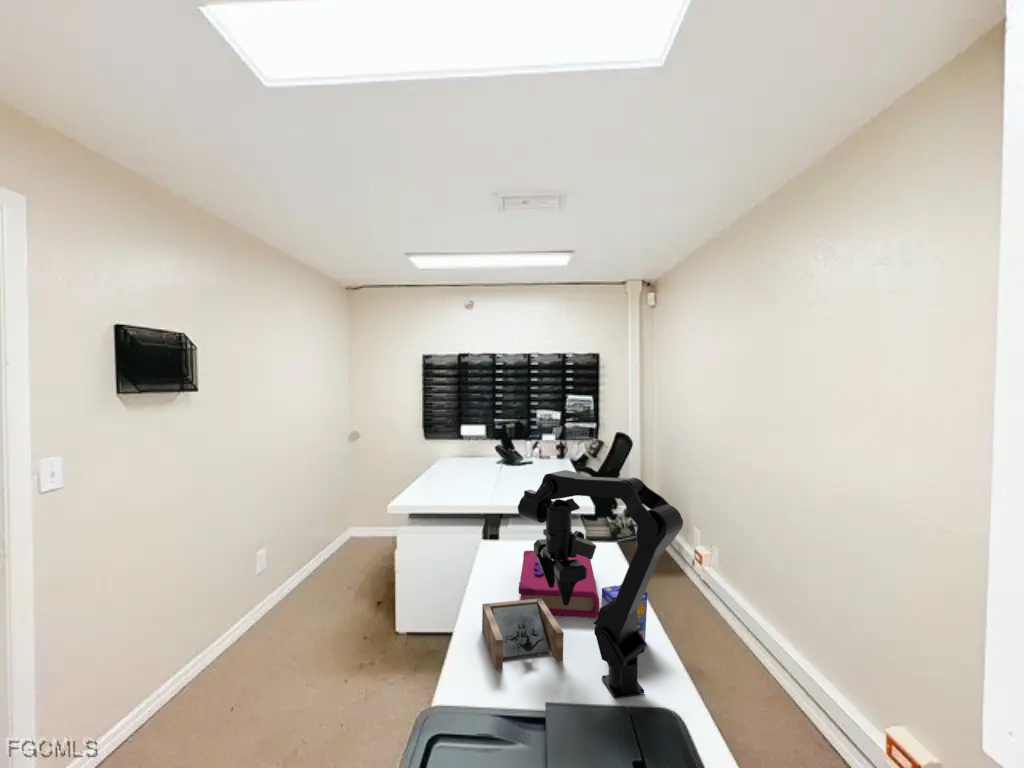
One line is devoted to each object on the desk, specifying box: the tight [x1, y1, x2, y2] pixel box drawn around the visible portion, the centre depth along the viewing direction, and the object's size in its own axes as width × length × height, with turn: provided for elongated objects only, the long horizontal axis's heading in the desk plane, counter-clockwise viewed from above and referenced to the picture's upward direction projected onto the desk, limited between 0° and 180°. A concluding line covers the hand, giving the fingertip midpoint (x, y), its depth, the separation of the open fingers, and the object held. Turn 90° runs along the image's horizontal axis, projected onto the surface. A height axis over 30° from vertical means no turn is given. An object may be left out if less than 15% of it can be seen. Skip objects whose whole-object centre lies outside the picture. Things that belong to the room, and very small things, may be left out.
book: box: [518, 550, 600, 619], centre depth 141 cm, size 21×28×8 cm
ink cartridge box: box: [600, 583, 648, 642], centre depth 117 cm, size 10×6×14 cm, turn 111°
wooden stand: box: [481, 598, 564, 672], centre depth 114 cm, size 16×15×6 cm
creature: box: [506, 624, 544, 651], centre depth 110 cm, size 8×5×8 cm
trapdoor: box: [492, 604, 551, 660], centre depth 114 cm, size 12×11×1 cm
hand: (558, 595), depth 111 cm, fingers open, 9 cm apart
